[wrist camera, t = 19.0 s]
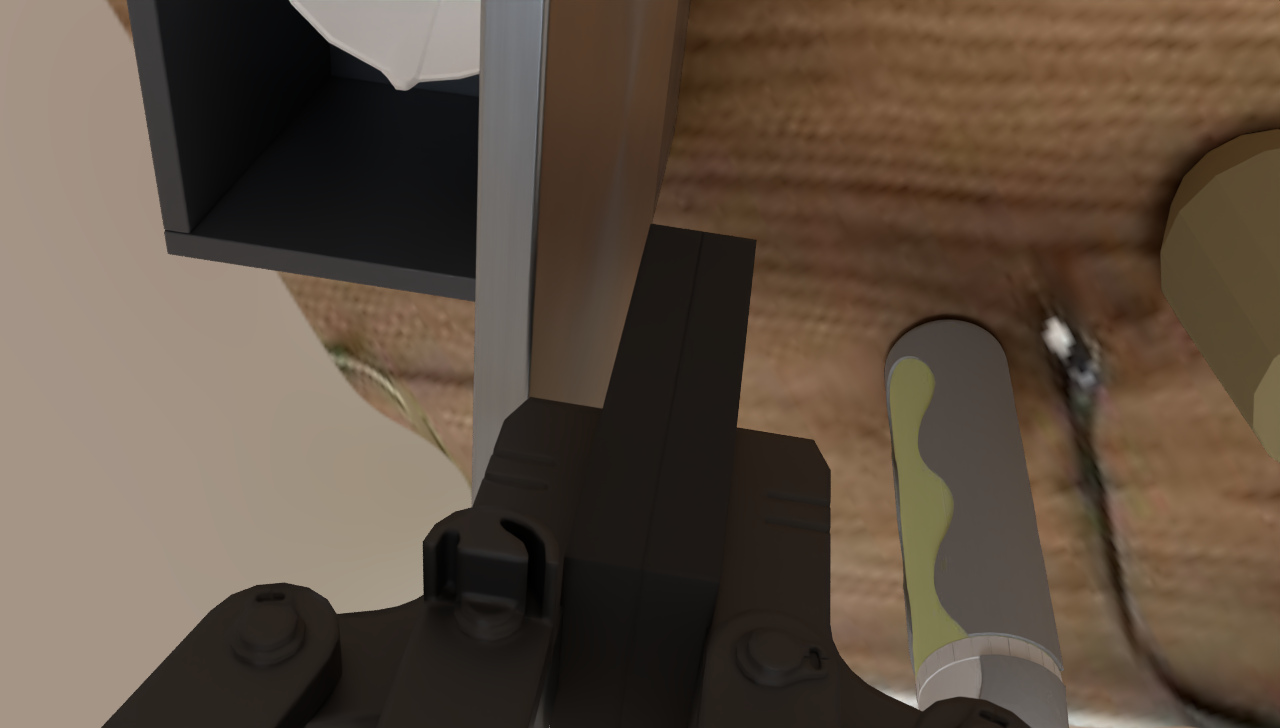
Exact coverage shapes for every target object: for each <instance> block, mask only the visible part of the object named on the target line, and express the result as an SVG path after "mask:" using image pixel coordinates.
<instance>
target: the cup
mask: <svg viewBox="0 0 1280 728" xmlns="http://www.w3.org/2000/svg"><path fill="white" fill-rule="evenodd" d="M289 1H290V3H291V4H292V5H293V6H294V7H295V8H296V10H297V11H298V12H299V13H300V14H301V15H302V16H303V17H304V18H305V19H306V20H307V21H308V22H309V23H310V24H311V25H312V26H313V27H314V28H315V29H316V30H317V31H318V32H319V33H320V34H321V35H322V36H323V37H324V38H325V39H326V40H327V41H328V42H329V43H331V44H333V45H335V46H336V47H338V48H340V49H342V50H344V51H346V52H347V53H349V54H351V55H353V56H355V57H356V58H358V59H360V60H362V61H364V62H365V63H367V64H369V65H371V66H373V67H375V68H376V69H378V70H380V71H381V72H382V73H383V74H384V75H385V76H386V77H387V78H388V79H389V81H390V82H391V84H392V85H393V86H394V87H395V89H396V90H404V91H406V90H409V89H411V88H412V87H414V86H415V85H416V84H417V83H419V82H428V81H441V80H454V79H462V78H465V77H469V76H473V75H477V74H479V67H480V11H481V0H289Z"/></svg>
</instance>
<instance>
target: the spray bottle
mask: <svg viewBox="0 0 1280 728" xmlns="http://www.w3.org/2000/svg"><path fill="white" fill-rule="evenodd" d="M884 377H885V388H886V399H887V409H888V419H889V426H890V434H891V444H892V465H893V476H894V488H895V499H896V510H897V521H898V530H899V537H900V544H901V551H902V559H903V572H904V582H903V588H904V599H905V610H906V621H907V632H908V642H909V653H910V659H911V664H912V668H913V672H914V675H915V678H916V684H915V685H916V695H917V703H918V708H919V710H920V711H924V710H925V709H927V708H928V707H929V706H930V705H932V704H933V703H934V702H936V701H939V700H944V699H949V698H953V697H958V696H962V697H969V698H976V699H983V700H987V701H990V702H992V703H994V704H996V705H998V706H1001V707H1003V708H1005V709H1007V710H1010V711H1012V712H1013V713H1014V714H1016V715H1017V716H1018V717H1019V718H1020V719H1022V720H1023V721H1024V722H1025V723H1026V724H1028V725H1029V726H1030V727H1031V728H1069V724H1068V713H1067V701H1066V688H1065V685H1064V684H1063V683H1062V679H1061V673H1060V671H1064V668H1063V662H1062V656H1061V651H1060V645H1059V640H1058V635H1057V629H1056V624H1055V618H1054V613H1053V607H1052V602H1051V597H1050V591H1049V586H1048V580H1047V575H1046V569H1045V564H1044V559H1043V554H1042V549H1041V545H1040V540H1039V534H1038V529H1037V522H1036V515H1035V510H1034V504H1033V499H1032V493H1031V488H1030V482H1029V477H1028V472H1027V466H1026V461H1025V455H1024V450H1023V444H1022V439H1021V433H1020V428H1019V423H1018V418H1017V413H1016V407H1015V401H1014V395H1013V390H1012V384H1011V379H1010V374H1009V368H1008V363H1007V358H1006V355H1005V353H1004V351H1003V349H1002V347H1001V345H1000V343H999V342H998V341H997V340H996V339H995V338H994V337H993V336H992V335H991V334H990V333H989V332H988V331H986V330H984V329H983V328H981V327H979V326H977V325H975V324H972V323H968V322H965V321H960V320H937V321H932V322H928V323H925V324H922V325H920V326H917V327H915V328H914V329H912V330H910V331H909V332H907V333H906V334H904V335H903V336H902V337H901V338H900V339H899V340H898V341H897V342H896V343H895V345H894V346H893V347H892V349H891V351H890V353H889V355H888V357H887V360H886V364H885V371H884Z"/></svg>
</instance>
